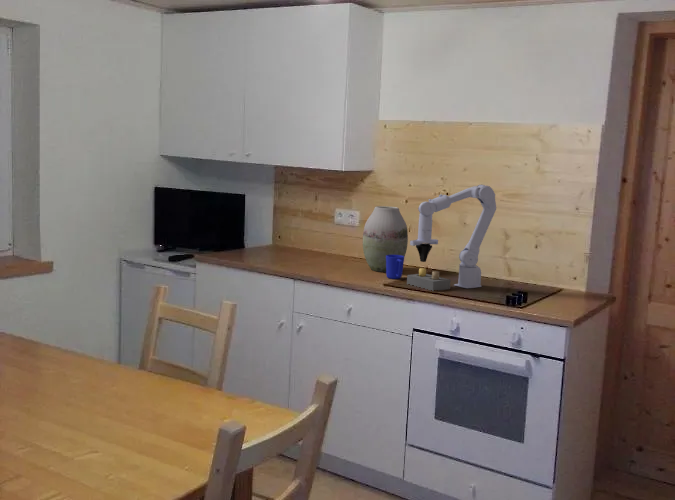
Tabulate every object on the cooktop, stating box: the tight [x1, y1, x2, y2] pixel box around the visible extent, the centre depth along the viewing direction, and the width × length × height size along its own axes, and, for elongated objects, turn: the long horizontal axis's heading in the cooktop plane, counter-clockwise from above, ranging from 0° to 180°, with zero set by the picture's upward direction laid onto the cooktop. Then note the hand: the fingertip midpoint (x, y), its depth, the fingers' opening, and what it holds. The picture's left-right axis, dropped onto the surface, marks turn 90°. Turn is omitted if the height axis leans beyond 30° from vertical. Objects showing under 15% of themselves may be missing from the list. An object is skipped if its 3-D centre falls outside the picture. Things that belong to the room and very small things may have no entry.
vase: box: [362, 205, 409, 273], centre depth 344 cm, size 21×21×30 cm
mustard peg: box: [418, 267, 427, 277], centre depth 312 cm, size 3×3×4 cm
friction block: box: [406, 273, 452, 292], centre depth 309 cm, size 10×16×4 cm, turn 37°
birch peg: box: [431, 270, 440, 280], centre depth 305 cm, size 3×3×4 cm
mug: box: [385, 255, 405, 280], centre depth 324 cm, size 8×12×10 cm
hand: (423, 261), depth 311 cm, fingers closed
